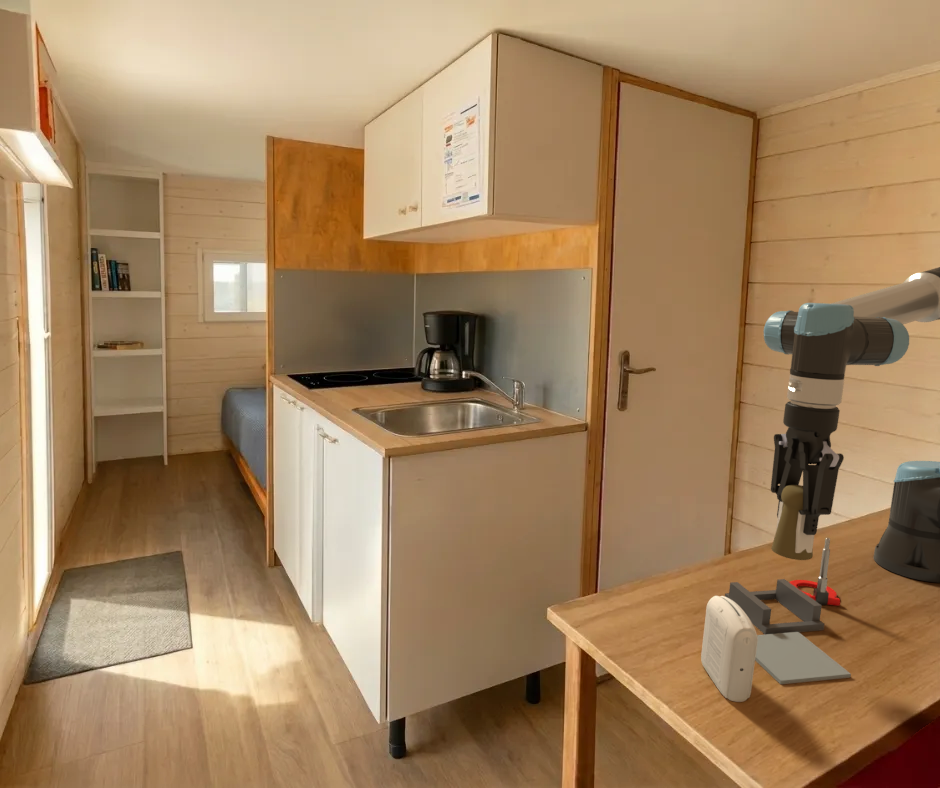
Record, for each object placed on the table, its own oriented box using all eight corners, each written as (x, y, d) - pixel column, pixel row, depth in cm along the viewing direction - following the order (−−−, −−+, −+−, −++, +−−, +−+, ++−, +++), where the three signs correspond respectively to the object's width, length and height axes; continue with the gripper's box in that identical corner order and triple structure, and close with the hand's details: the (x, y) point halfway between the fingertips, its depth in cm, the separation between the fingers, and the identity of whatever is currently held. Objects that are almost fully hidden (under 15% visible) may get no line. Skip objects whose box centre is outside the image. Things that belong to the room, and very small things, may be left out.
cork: (797, 562, 101) (807, 495, 99) (763, 548, 106) (771, 483, 104) (820, 556, 104) (830, 490, 102) (786, 542, 109) (794, 479, 107)
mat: (797, 634, 111) (798, 631, 111) (850, 677, 99) (851, 673, 99) (734, 640, 109) (734, 636, 109) (780, 684, 97) (780, 680, 97)
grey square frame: (777, 595, 125) (780, 576, 124) (823, 630, 113) (826, 608, 112) (724, 599, 123) (726, 579, 122) (765, 634, 111) (767, 613, 110)
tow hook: (781, 583, 131) (797, 603, 122) (788, 521, 129) (805, 537, 120) (826, 587, 130) (845, 608, 121) (833, 525, 128) (854, 541, 119)
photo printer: (754, 703, 93) (764, 623, 90) (725, 703, 92) (734, 623, 90) (723, 660, 103) (731, 588, 101) (696, 661, 103) (704, 588, 100)
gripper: (758, 393, 108) (741, 526, 112) (829, 414, 92) (807, 569, 96) (798, 393, 110) (781, 525, 114) (876, 415, 93) (852, 568, 97)
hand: (793, 545), depth 105 cm, fingers closed on cork, 4 cm apart
